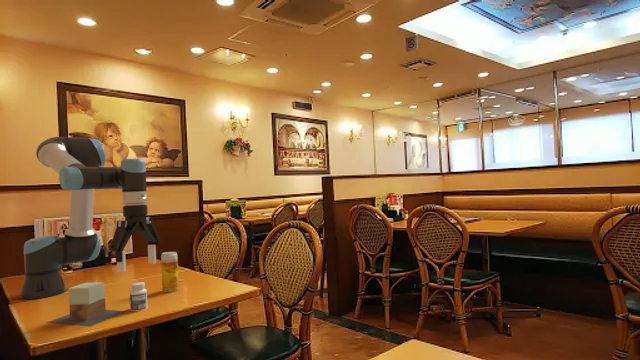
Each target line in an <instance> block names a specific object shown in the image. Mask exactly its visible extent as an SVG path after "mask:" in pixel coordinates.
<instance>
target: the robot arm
mask: <svg viewBox="0 0 640 360" xmlns="http://www.w3.org/2000/svg"><path fill="white" fill-rule="evenodd" d="M35 156H36V159H37V160H38V161H39V162H40V163H41V164H42V165H43V166H44V167H47V168H51V169H52V170H53V171H54V172H55V173H57V175H58V181H59V185H60V187H61V188H62V189H63V190H66V191H70V200H69V201H70V202H69V203H70V205H69V223H68V224H69V225H68V228H67V229H66V230H65V231H64V236H62V237H60V236H59V235H58V234H50V235H44V236H43V235H42V236H39V237H34V238H31V239H28V240H27V241H25V242H24V245H23V252H22V253H23V258H24V261H23V262H24V265H23V266H24V279H23V283H22V285H21V288H20V291H19V298H20V299H22V300H35V299H43V298H48V297H53V296H56V295H61V294H63V293H64V292H66V291H67V290H66V284H65V282H64V278H63V277H62V274H61V269H60V268H61V266H65V265H71V264H79V263H86V262H90V261H93V260H96V259H97V258H98V256H99V254H100V253H101V247H102V241H101V236H100V235H99V233H97V231H96V230H95V228H94V227H93V226H94V225H93V222H94V221H93V220H94V205H95V204H94V202H95V201H94V200H95V190H102V189H103V190H104V189H105V190H106V189H107V190H110V189H115V190H117V189H120V190H121V195H122V198H121V199H122V200H121V201H122V204H123V206H122V214H123V215H122V216H123V218H124V219H123V220H117V221H116V227H115V230H114V234H113V235H112V236H113V237H112V240H111V243H110V246H109V251H110V252H113V253H114V254H115V256H114V257H115V263H116V266H117V273H126V272H127V267H126V263H127V262H126V261H127V260H126V251H125V250H124V249H125V247H126V246H127V244H128V243H129V240H130V238H131V237H132V235H134V234H135V233H141V234H142V236H143V237H144V239H145V240H146V241H147V243H148V245H147V257H148V258H147V260H148V262H147V263H148V264H157V245H159V244H160V242H161V237H160V235H159V232H158V229H157V227H156V225H155V222H154V218H153V216H147V215H148V214H149V213H148V211H149V210H148V205H147V204H146V203H148V196H147V195H148V194H147V193H148V191H147V168H146V162H145V160H144V159H143V158H125V159H122V160H121V161H120V166H105V164H106V162H107V159H106V158H107V155H106V149H105V146H104V144H103V143H102V142H101V140H99V139H97V138H91V137H90V138H89V137H73V136H71V137H70V136H69V137H68V136H54V137H50V138H47V139H45V140H43V141H42V142H40V143H39V145H38V146H37V147H36V151H35Z"/></svg>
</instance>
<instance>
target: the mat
mask: <svg viewBox="0 0 640 360" xmlns="http://www.w3.org/2000/svg"><path fill="white" fill-rule="evenodd" d="M127 312H128V310H118V309H117V310H114V309H106V314H104V315H101V316H99V317H96V318H93V319H91V320H88V321H80V320H70V313H69V314H66V315H63V316H60V317H58V318H55V319H52V320H50V321H46V323H48V324H60V325H71V326H81V327H93V326H95V325H98V324H101V323H103V322H105V321H107V320H110V319H113V318H114V317H117V316H119V315H122V314H125V313H127Z"/></svg>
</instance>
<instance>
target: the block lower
mask: <svg viewBox="0 0 640 360" xmlns="http://www.w3.org/2000/svg"><path fill="white" fill-rule="evenodd" d="M68 306H69V314H70V320H80V321H88V320H91V319H93V318H96V317H99V316H101V315H104V314H106V310H107V307H106V297H105V298H103V299H101V300H99V301H96V302H94V303H91V304H69V305H68Z"/></svg>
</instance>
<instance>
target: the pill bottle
mask: <svg viewBox="0 0 640 360" xmlns="http://www.w3.org/2000/svg"><path fill="white" fill-rule="evenodd" d="M145 286H146V284H145V282H144V281H141V282H140V281H139V282H134V283H132V284H131V289H132V290H131V291H129V299H130V301H129V302H130V311H131V312H140V311H145V310H146V309H148V307H149V305H148V290H147V289H146V288H145Z"/></svg>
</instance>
